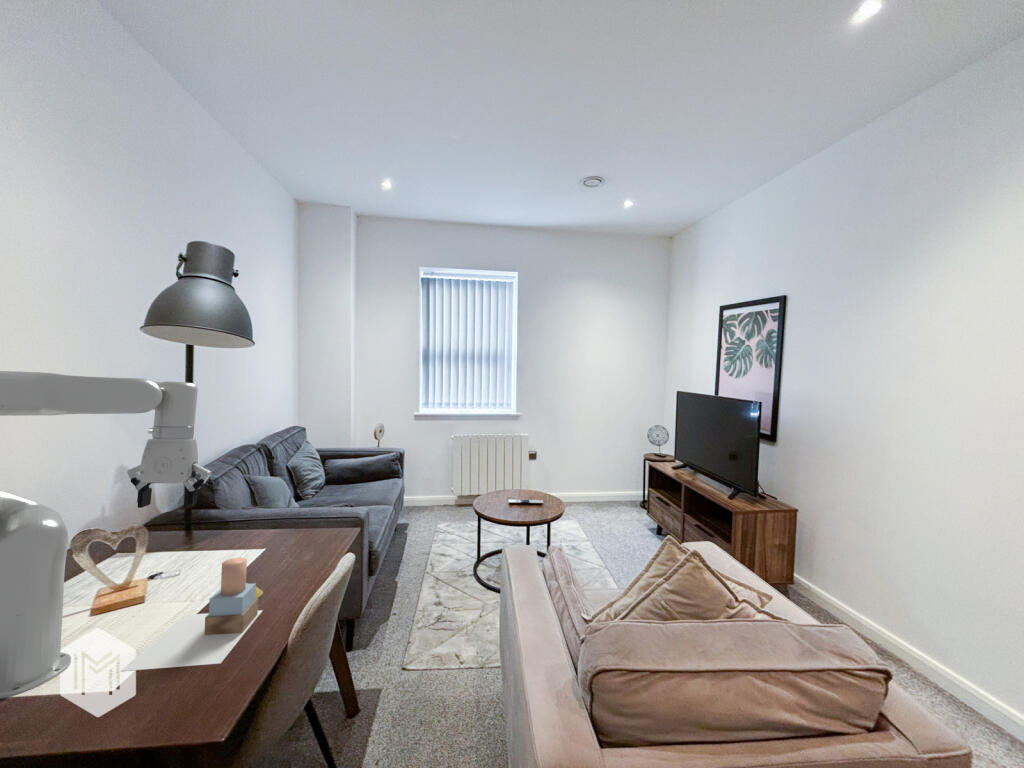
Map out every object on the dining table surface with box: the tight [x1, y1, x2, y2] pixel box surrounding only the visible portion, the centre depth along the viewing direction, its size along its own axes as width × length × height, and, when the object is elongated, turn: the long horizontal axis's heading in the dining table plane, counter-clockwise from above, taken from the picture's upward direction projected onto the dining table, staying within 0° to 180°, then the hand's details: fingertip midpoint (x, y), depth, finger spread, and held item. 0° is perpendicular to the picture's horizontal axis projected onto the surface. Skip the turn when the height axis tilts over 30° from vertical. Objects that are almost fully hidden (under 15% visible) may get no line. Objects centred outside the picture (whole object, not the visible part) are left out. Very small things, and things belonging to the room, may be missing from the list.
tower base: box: [204, 597, 259, 635], centre depth 99 cm, size 8×8×4 cm
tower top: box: [208, 583, 257, 616], centre depth 99 cm, size 7×7×4 cm
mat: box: [120, 609, 264, 672], centre depth 94 cm, size 18×21×1 cm
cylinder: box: [220, 557, 248, 596], centre depth 99 cm, size 5×5×7 cm
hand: (166, 506), depth 97 cm, fingers open, 9 cm apart
